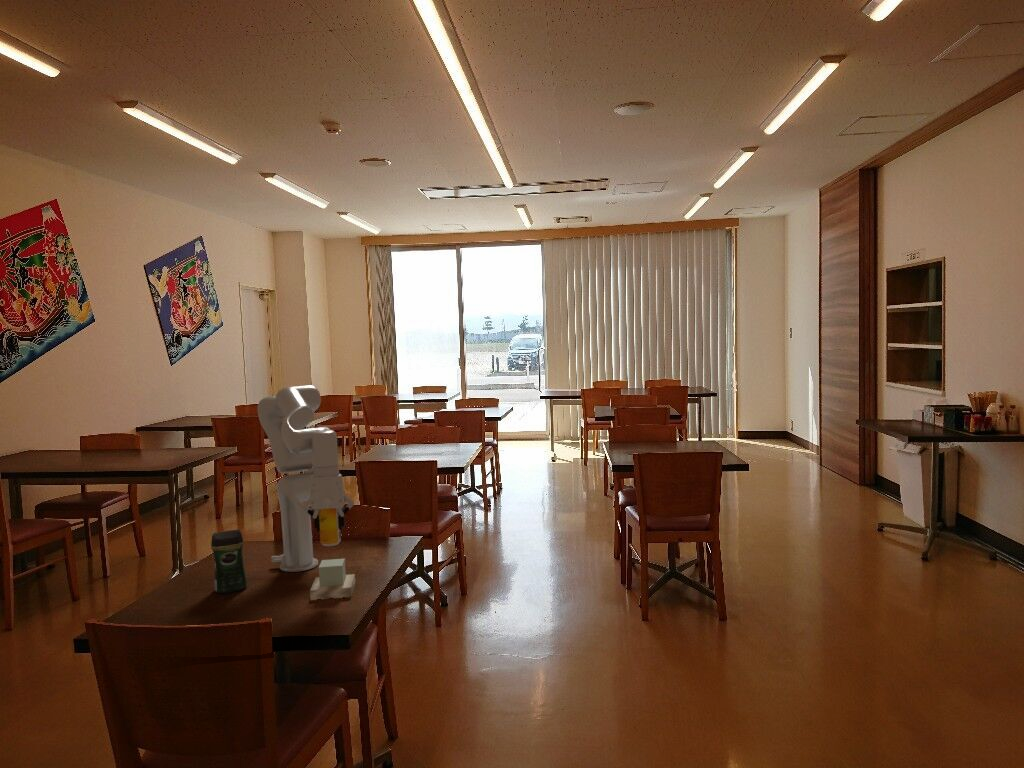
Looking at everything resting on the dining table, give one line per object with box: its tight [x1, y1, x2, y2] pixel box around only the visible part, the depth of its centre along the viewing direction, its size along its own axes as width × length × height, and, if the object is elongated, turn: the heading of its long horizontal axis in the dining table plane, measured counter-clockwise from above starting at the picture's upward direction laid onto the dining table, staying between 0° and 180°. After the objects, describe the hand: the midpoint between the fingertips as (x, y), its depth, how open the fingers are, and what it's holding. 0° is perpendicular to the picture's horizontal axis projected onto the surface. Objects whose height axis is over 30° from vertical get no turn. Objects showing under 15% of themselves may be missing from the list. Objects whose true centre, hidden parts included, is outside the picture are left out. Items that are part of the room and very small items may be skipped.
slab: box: [309, 573, 356, 601], centre depth 226 cm, size 12×12×3 cm
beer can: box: [318, 499, 342, 547], centre depth 224 cm, size 6×6×15 cm
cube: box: [318, 558, 347, 587], centre depth 226 cm, size 7×7×6 cm
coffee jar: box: [210, 529, 248, 594], centre depth 232 cm, size 10×8×19 cm
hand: (329, 529), depth 224 cm, fingers closed on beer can, 6 cm apart
